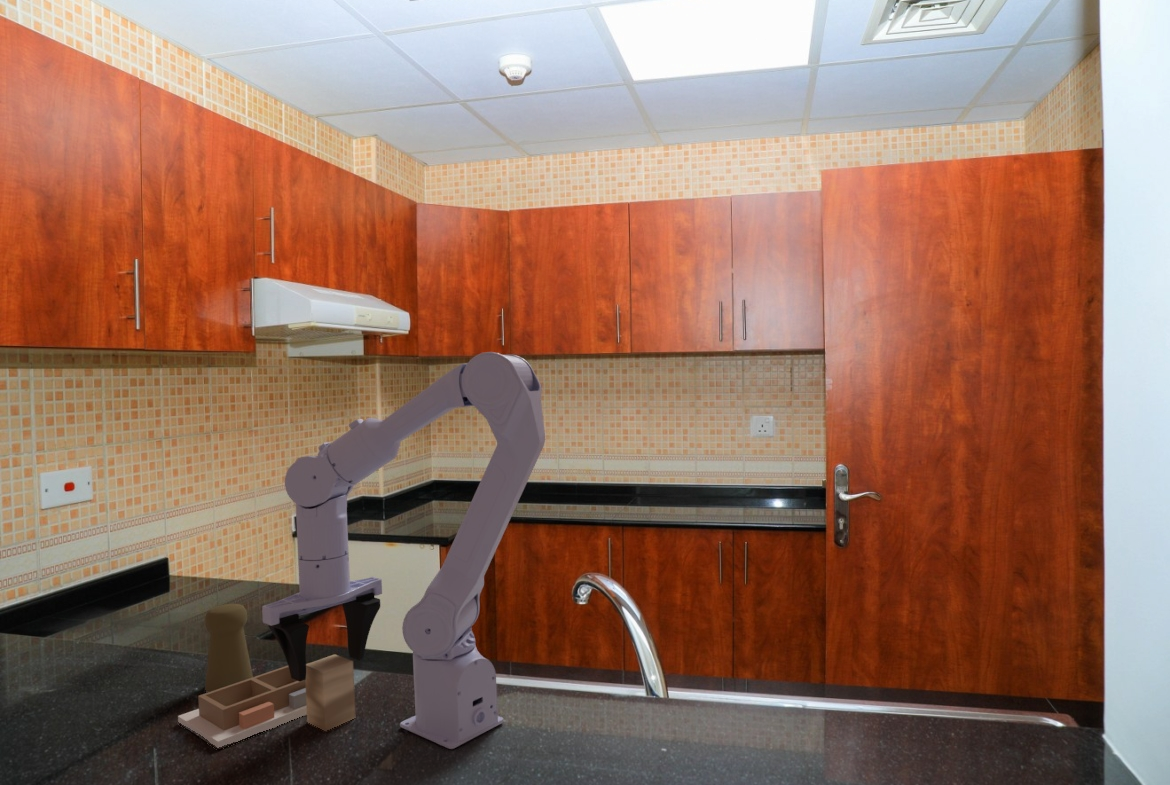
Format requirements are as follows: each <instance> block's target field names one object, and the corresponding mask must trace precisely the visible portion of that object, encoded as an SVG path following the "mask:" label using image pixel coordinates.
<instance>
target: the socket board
mask: <svg viewBox="0 0 1170 785" xmlns="http://www.w3.org/2000/svg"><path fill="white" fill-rule="evenodd" d="M197 698H198V700H197V701H198V708H196V709H194V710H190V711H188V712H186V713H185V712H184V713H182V714H180V715H177V721H178V722H179V723H181V724H182V725H184V726H186V727H188V728H190V729H191V730H193V731H195V732H196V733H198V734H200V735H201V736H203V737H204V738H205V739H207V740H208V741H209V742H210V743H211V744H213V745H215V746H216V747H217V748H219V747H222V746H224V745H227V744H231V743H233V742H238V741H240V740H242V739H245V738H247V737H250V736H252V735H254V734H257V733H259V732H263V731H265V732H267V731H266V730H268V731H270V730H273V729H275V728H277V726H278V727H280V726H282V725H281V724H283V725H285V724H287V722H288V723H290V722H292V721H291V720H293V721H295V720H297V718H298V719H300V718H303V717H305V716H307V704H306V683H305V680H303V681H297V680H295V679H293V678H291V674H290V670H289V667H288V665H285V666H282V667H280V668H277V669H273V670H271V671H267V672H265V673H261V674H259V675H256V676H253V677H252V678H249V679H246V680H243V681H241V682H238V683H235V684H232V685H229V686H226V687H223V688H220V689H217V690H214V691H211V692H208V693H205V692H204V693H203V694H200V695H198V696H197ZM302 716H303V717H302ZM299 717H300V718H299ZM294 719H295V720H294ZM289 721H290V722H289ZM178 722H177V723H178ZM284 723H285V724H284ZM279 725H280V726H279ZM272 728H273V729H272ZM269 729H270V730H269ZM263 733H264V732H263ZM238 743H239V742H238Z"/></svg>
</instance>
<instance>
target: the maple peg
mask: <svg viewBox="0 0 1170 785" xmlns="http://www.w3.org/2000/svg"><path fill="white" fill-rule="evenodd" d="M354 676H355V674H354V660H351V659H349V658H346V657H343V656H340V655H337V654H336V653H335V654H332V655H328V656H327V657H323V658H320V659H318V660H314V661H312V662H308V663H306V679H305V683H306V704H307V715H306V718H307V719H306V722H308V723H307V724H309V723H310V724H309V725H311V724H312V725H311V726H313V725H314V726H313V727H315V726H316V727H315V728H317V727H318V728H320V729H322V730H324V731H326V732H328V731H327V730H329V731H331V730H333V729H335V728H334V727H336V728H338V727H340V726H342V725H341V724H343V723H345V722H347V721H350V720H352V719H354V718H357V716H356V701H355V700H356V696H355V679H354V678H355V677H354ZM354 720H355V719H354ZM352 721H353V720H352ZM350 722H351V721H350ZM347 723H348V722H347ZM345 724H346V723H345ZM339 725H340V726H339ZM343 725H344V724H343ZM337 726H338V727H337ZM318 728H317V729H318ZM332 728H333V729H332ZM320 729H319V730H320ZM330 729H331V730H330ZM322 730H321V731H322ZM324 731H323V732H324Z"/></svg>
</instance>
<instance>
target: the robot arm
mask: <svg viewBox="0 0 1170 785" xmlns="http://www.w3.org/2000/svg"><path fill="white" fill-rule="evenodd" d="M542 388H543V387H542V384H541V382H540V381H539V378H538V377H537V375H536V373H535V371H534V369H533V367H532V366H531V364H530V363H529V362H528V361H527V360H526V359H524V357H521V356H519V355H515V354H501V353H499V352H495V351H487V352H486V351H485V352H481V353H478V354H476V355H475V356H473V357H472V358H471V359H470V360H469V361H468V362H467V363H461V364H460V365H457V366H454V367H453V368H452V369H451V370H449V371H447V372H446V373H444V374H443V375H442V376H441V377H439V378H438V379H437V380H435V381H434V382H432V383H431V384H430V385H428V386H427V387H426V388H425V389H423V390H422V391H421V392H419V393H418V394H416V395H415V396H414V397H413V398H411V399H410V400H409V401H407V402H406V403H405V404H403V405H402V406H400V407H399V408H398V409H397V410H395V411H394V412H392V413H391V414H390V415H388V416H387V417H385V418H384V419H379V418H375V417H367V418H366V419H363V418H359V419H355V420H353V421H352V422H350V423H349V424H348V427H349V429H350V430H348V431H346V432H345V433H344V434H342V435H340V436H339V437H338V438H336V439H335V440H333V441H332V442H323V443H322V444H321V445H319V446H318V450H319V451H318V453H317V455H305V456H301V457H298V458H297V459H296V460H295V462H294V463H292V464H291V465H290V467H289V468H288V469H287V470H286V474H285V477H284V487H285V492H286V494H287V495H288V497H289V499H291V501H292V502H294V504H295V517H296V519H295V520H296V521H295V522H296V540H297V561H298V562H297V563H298V565H297V566H298V583H299V584H298V585H299V592H297V593H295V594H292V595H289V596H287V597H284V598H282V599H280V600H277V601H274V602H271V603H268V604H265V605H261V609H262V611H261V612H262V614H261V615H262V623H263V624H264V625H267V627H268V628H269V630H270V631H271V633H272V634H273V635H274V637H275V639H276V641H277V643H278V644H279V646H280V648H281V650H282V653H283V655H284V658H285V660H286V663H287V666H288V667H289V670H290V674H291V678H293V679H295V680H297V681H303V680H305V679H306V664H307V662H306V661H307V658H306V656H307V655H306V652H307V651H306V650H307V649H306V648H307V639H308V634H309V628H310V625H309V624H307V623H304V622H302V618H300V616H304V615H307V614H311V613H314V612H317V611H321V610H324V609H328V608H332V607H335V606H338V605H342V608H343V612H344V618H345V623H346V630H347V631H346V632H347V650H348V654H349V658H352V659H354V660H356V661H361V660H363V659H364V656H365V651H366V647H367V646H366V645H367V642H368V638H369V634H370V631H371V628H372V625H373V623H374V620H375V618H376V616H377V615H378V612H379V610H380V609H381V599H380V598H377V596H380V595H382V594H383V583H382V578H378V577H376V576H375V577H374V576H370V577H368V578H367V577H366V578H362V579H356V580H355V579H354V580H351V578H350V577H351V576H350V558H349V556H350V554H349V553H350V552H349V534H348V532H349V531H348V528H349V527H348V512H347V511H348V509H347V508H348V497H349V494H350V493H351V491H352V490H353V488H354V486H356V485H357V484H359V483H360V482H362V481H363V480H365V479H366V478H368V477H370V476H371V475H372V474H374V473H375V472H377V471H378V470H380V469H381V468H383V467H384V466H386V465H387V464H388V463H390V462H392V461H394V460H395V459H396V458H397V457H398V454H399V450H400V446H401V442H403V441H404V440H405V439H407V438H409V437H410V436H412V435H414V434H415V433H417V432H419V431H420V430H422V429H423V428H425V427H427V426H428V425H430V424H431V423H433V422H435V421H437V419H440V418H441V417H443V416H445V415H446V414H448V413H449V412H451V411H453V410H454V409H456V408H464V407H474V408H475V410H477V411H478V412H479V413H480V414H481V415H482V416H483V418H484V419H486V421H487V423H488V426H489V428H490V429H491V432H492V434H493V436H494V438H495V441H496V446H495V448H494V451H493V453H492V455H491V458H490V459H489V462H488V464H487V466H486V468H485V470H484V473H483V476H482V477H481V480H480V482H479V484H478V486H477V489H476V490H475V492H474V495H473V497H472V500H471V502H470V503H469V506H468V509H467V511H466V513H465V515H464V517H463V520H461V524H460V526H459V528H458V530H457V533H456V535H455V537H454V540H453V541H452V544H451V546H450V548H449V550H448V552H447V555H446V557H445V559H444V561H443V564H442V566H441V568H440V569H439V570H438V572H437V573H436V575H435V576H434V578H433V579H432V581H431V582H430V583H429V584H428V586H427V588H426V590H425V592H424V595H423V597H422V598H421V599H420V600H419V601H418V602H417V603H416V604H415V605H414V606H412V607H411V608H409V609H408V611H407V612H406V614H405V616H404V618H403V622H402V627H401V628H402V636H403V637H402V638H403V640H404V642H405V643H406V645H407V646H408V647H407V648H409V649H410V651H412V666H413V667H412V668H413V669H412V670H413V688H414V706H415V707H414V708H415V715H414V716H411V717H409V718H407V719H405V720H403V721H401V722H399V726H400V728H402V729H404V730H406V731H409V732H411V733H413V734H415V735H417V736H420V737H422V738H424V739H426V740H429V741H431V742H434V743H436V744H438V745H439V746H442V747H445V748H447V749H450V750H454V749H455V748H457V747H460V746H461V745H464V744H465V743H468V742H469V741H471V740H473V739H474V738H477V737H479V736H480V735H483V734H484V733H486V732H487V731H490V730H492V729H494V728H495V727H497V726H499V725H501V724H503V722H504V717H502V716H501V715H500V716H499V715H498V713H499V712H498V691H497V674H496V673H497V672H496V669H495V667H494V664H493V663H492V662H491V661H490V660H489V659H488V658H486V657H484V656H483V655H482V654H481V653H480V652H479V651H478V649H477V646H476V638H475V634H474V632H473V630H472V629H473V628H472V626H473V625H475V623H476V621H477V619H478V618H479V615H480V611H481V610H480V609H481V607H480V606H481V605H480V596H481V593H482V591H483V588H484V585H485V575H486V573H487V570H488V568H489V566H490V564H491V561H492V559H493V558H494V555H495V553H496V551H497V548H498V546H499V545H500V543H501V540H502V538H503V535H504V533H505V531H506V529H507V528H508V524H509V522H510V521H511V518H512V516H513V514H514V511H515V509H516V508H517V505H518V503H519V501H520V498H521V496H522V495H523V492H524V490H525V488H526V486H527V483H528V481H529V479H530V477H531V475H532V473H533V470H534V468H535V465H536V464H537V462H538V459H539V457H540V455H541V453H542V451H543V449H544V446H545V442H546V431H545V424H544V423H545V422H544V415H543V414H544V413H543V407H542ZM375 596H376V597H375Z"/></svg>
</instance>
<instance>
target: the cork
mask: <svg viewBox="0 0 1170 785" xmlns="http://www.w3.org/2000/svg"><path fill="white" fill-rule="evenodd" d="M204 616H205V617H204V626H205V628H206V632H208V633H209V638H208V639H209V640H208V641H209V642H208V650H207V663H206V671H205V683H204V691H205V690H206V691H209V692H210V691H214V690H217V689H220V688H223V687H226V686H229V685H232V684H235V683H238V682H241V681H243V680H246V679H249V678H252V677H254V675H253V674H254V673H253V670H252V666H251V665H252V664H251V660H250V654H249V650H248V644H247V639H246V634H245V628H244V627H245V625H246V624H247V621H248V611H247V609H246V608H245V606H244V605H242V604H241V603H224V604H221V605H217V606H214V607H212V608H210V609H209V610H208V611H207V613H206V614H205V615H204Z"/></svg>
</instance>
